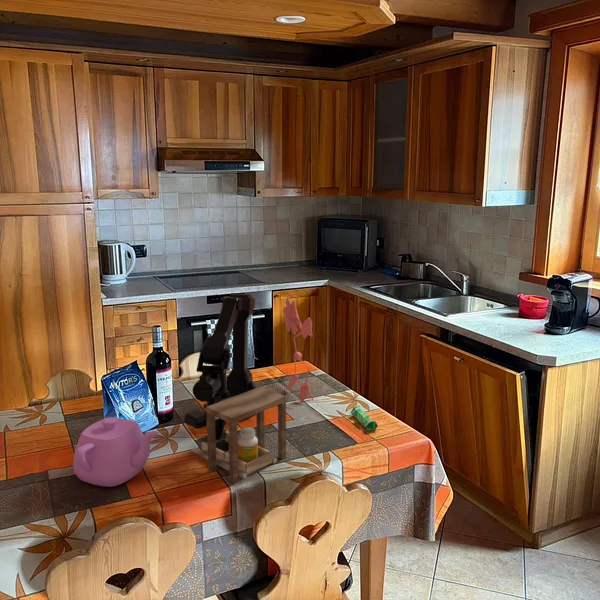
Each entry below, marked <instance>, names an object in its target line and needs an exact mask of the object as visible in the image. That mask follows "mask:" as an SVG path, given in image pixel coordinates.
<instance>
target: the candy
mask: <svg viewBox="0 0 600 600" xmlns="http://www.w3.org/2000/svg"><path fill="white" fill-rule="evenodd" d="M350 414H351V415H352V416H353V417H354V418H355V419H357V420H358V422H359V423H360V424H361V425H362V426H363V427H365V428H366V430H367V432H369V431H371V430H373V431H376V430H377V428H378V426H379V425H378V423H377V422H376V420H374V419H371V417H370V416H369V414H367V412H365V411H363V410H362V409H361V407H360V406H359V405H357V406H354V407H352V409H351V411H350Z"/></svg>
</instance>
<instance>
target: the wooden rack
mask: <svg viewBox="0 0 600 600" xmlns="http://www.w3.org/2000/svg"><path fill="white" fill-rule="evenodd" d="M227 429H228V428H225V427H224V429H223V432H222V435H221V438H220V440H216V444H217V443H219V442H222V441H224V442H226V443H228V444H229V431H228V430H227ZM239 437H240V436H238V435H237V453H238V438H239ZM198 449H200V450H202V451H204V452H205V453H207V454H208V441H207V434H206V435H203V436H201V437H198ZM272 457H273V452H272V451H271V450H269V449H266V448H265V447H264V448H262V447H260V446H258V458H256V459H254V460H252V461H250V462H248V463H246V462H244V461H242V460H240V459H238V470H240V471H242V472H244V473H246V474H247V476H249V474H251V473H252V472H254V471H256V470H258V469H260V468H262V467H264V466H266V465H268V464H273V463H272ZM216 458H217V459H219V460H221V461H223V462H225V463H227V464H229V450H227V451H224V450H222V449H220V448H217V447H216Z"/></svg>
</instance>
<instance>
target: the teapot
mask: <svg viewBox="0 0 600 600" xmlns="http://www.w3.org/2000/svg"><path fill="white" fill-rule="evenodd" d="M158 434H159V432H158V431H149V432H146V433H145V434H144V433H143V431H142V429H141V427H140V425H139V424H138V422H136V421H134V420H132V419H131V420H130V419H126V418H123V417H122V418H121V417H114V416H112V417H106V418H103V419H100V420H98V421H96V422H94V423H92V424H90V425H89V426H88V427H86V428H85V429H84V430H83V431H82V432H81V434H80V436H79V438H78V442H77V444H76V447H75V450H74V454H73V461H72V462H73V465H72V466H73V472H74V474H75V476H76V477H77V478H79V480H81V481H82V482H84V483H88V484H90V485H94V486H100V487H107V488H109V487H110V488H111V487H116V486H119V485H121V484H123V483H126V482H127V481H129V480H132V479H133V478H134V477H136V476H137V475H138V474H139V473H140V472H141V471H142V470H143V469H144V467H145V465H146V464H147V462H148V460H149V457H150V452H151V441H152V439H153V437H154V436H156V435H158Z"/></svg>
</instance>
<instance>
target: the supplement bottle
mask: <svg viewBox="0 0 600 600" xmlns="http://www.w3.org/2000/svg"><path fill="white" fill-rule="evenodd" d="M238 437H239V438H238V459H240V460H242V461H244V462H246V463H248V462H250V461H252V460H254V459H256V458H258V439H257V436H256V429H254V428H253V427H243V428H241V429H240V430H239V436H238Z"/></svg>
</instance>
